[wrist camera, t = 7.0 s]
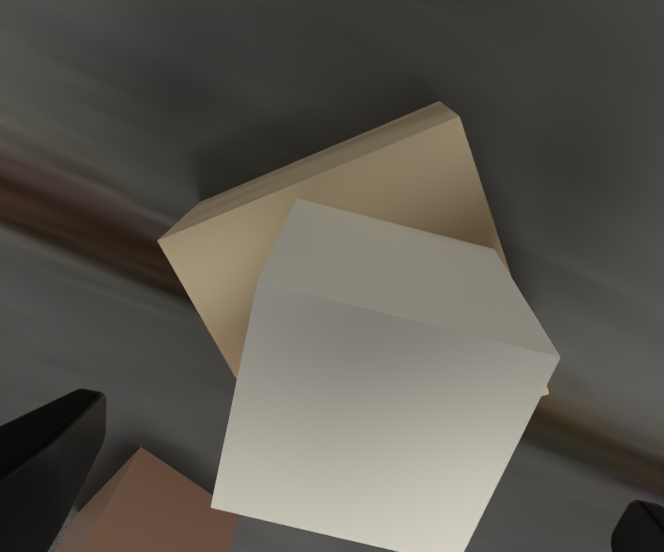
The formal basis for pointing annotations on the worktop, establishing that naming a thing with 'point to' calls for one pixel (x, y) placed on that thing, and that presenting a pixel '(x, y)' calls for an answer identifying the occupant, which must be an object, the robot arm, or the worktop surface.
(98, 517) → the terracotta cube
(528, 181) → the worktop surface
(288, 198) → the oak slab
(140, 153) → the worktop surface
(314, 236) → the cream cube
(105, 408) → the robot arm
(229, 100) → the worktop surface
